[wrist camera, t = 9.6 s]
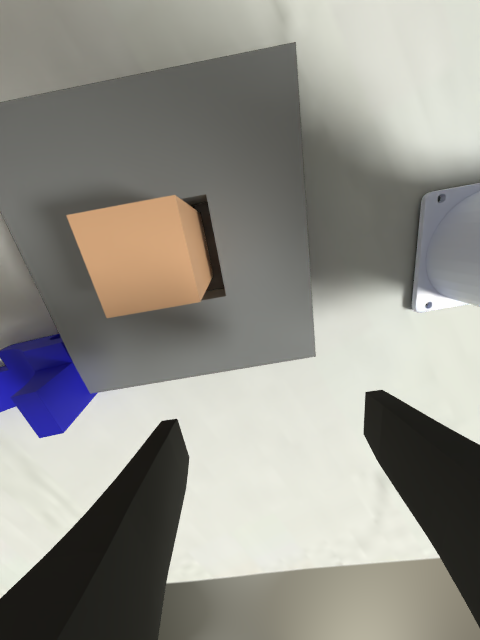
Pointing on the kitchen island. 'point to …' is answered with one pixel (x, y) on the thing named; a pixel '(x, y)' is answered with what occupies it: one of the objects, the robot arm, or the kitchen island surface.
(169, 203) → the plug
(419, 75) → the kitchen island surface
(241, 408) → the kitchen island surface
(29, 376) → the cable clip
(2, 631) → the robot arm
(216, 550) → the kitchen island surface
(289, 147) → the socket plate
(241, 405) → the kitchen island surface
